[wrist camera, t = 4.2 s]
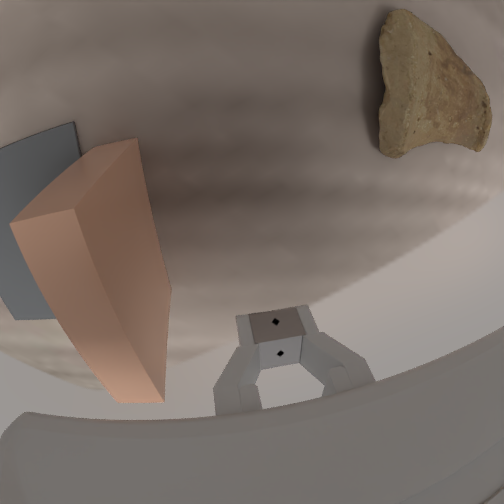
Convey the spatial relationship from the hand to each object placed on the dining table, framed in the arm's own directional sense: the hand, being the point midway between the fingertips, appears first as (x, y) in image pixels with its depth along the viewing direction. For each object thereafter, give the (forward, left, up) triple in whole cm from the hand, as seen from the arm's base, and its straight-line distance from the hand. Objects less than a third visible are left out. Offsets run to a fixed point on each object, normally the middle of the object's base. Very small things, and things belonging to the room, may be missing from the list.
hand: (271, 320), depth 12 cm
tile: (+8, 0, -10) cm, 12 cm away
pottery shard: (-9, -9, -9) cm, 16 cm away
